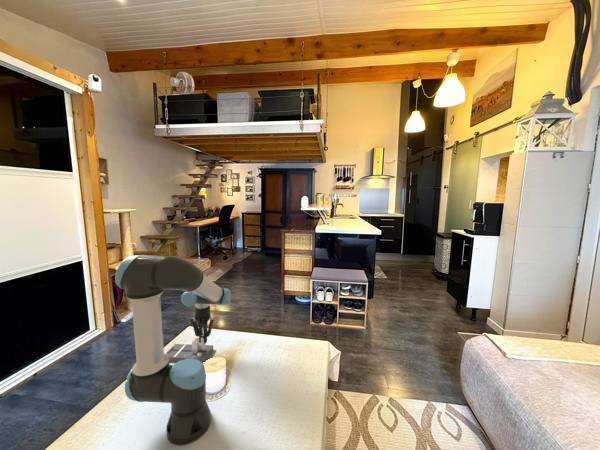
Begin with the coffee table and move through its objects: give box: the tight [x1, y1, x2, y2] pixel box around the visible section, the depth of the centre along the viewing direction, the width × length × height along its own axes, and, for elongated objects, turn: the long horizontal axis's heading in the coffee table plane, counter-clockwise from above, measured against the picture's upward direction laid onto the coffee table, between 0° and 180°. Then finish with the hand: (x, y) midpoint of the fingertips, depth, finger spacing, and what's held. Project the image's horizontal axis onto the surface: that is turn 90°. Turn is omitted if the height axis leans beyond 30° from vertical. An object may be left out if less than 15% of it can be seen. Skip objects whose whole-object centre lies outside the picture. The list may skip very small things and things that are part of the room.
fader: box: [191, 337, 201, 354], centre depth 131 cm, size 5×3×6 cm, turn 178°
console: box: [165, 343, 214, 364], centre depth 132 cm, size 12×22×4 cm, turn 88°
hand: (203, 348), depth 132 cm, fingers closed
